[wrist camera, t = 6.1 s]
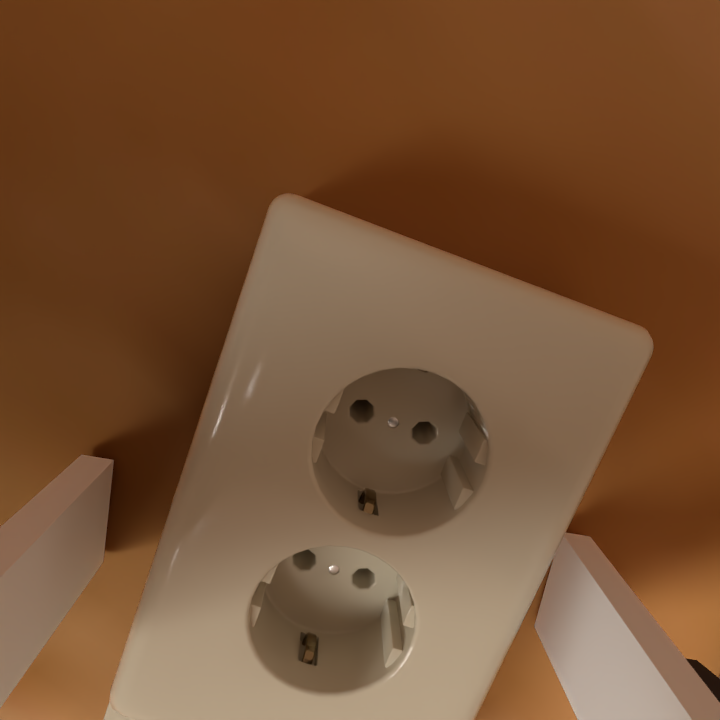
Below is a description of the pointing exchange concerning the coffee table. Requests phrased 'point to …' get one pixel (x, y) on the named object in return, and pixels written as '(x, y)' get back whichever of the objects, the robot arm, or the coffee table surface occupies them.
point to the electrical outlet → (371, 481)
